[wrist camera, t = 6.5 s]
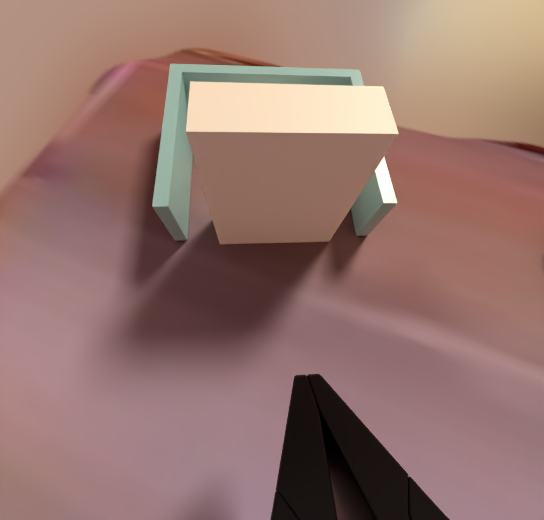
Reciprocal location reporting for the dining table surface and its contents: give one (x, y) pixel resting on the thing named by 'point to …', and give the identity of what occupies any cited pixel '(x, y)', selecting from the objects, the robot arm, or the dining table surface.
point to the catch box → (178, 155)
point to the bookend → (285, 155)
